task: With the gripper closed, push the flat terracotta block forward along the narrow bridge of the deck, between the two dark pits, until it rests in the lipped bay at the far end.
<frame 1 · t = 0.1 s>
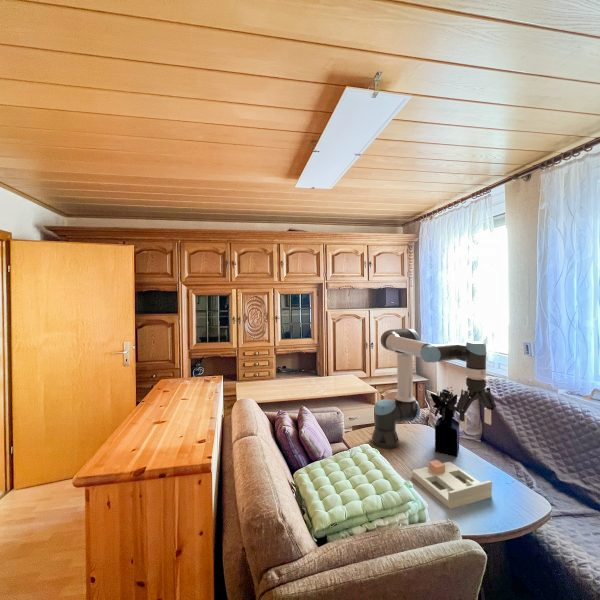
hand: (475, 425, 135), 28 cm above the table, fingers open, 13 cm apart
deck: (449, 486, 138), on the table
block: (436, 469, 145), point 3 cm above the table, touching deck
vase: (446, 450, 169), on the table
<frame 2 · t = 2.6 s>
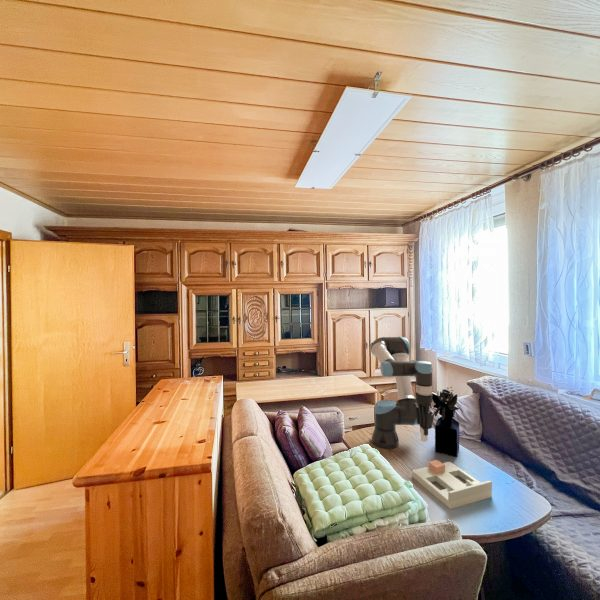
hand: (424, 440, 153), 13 cm above the table, fingers closed
nothing on the table moved.
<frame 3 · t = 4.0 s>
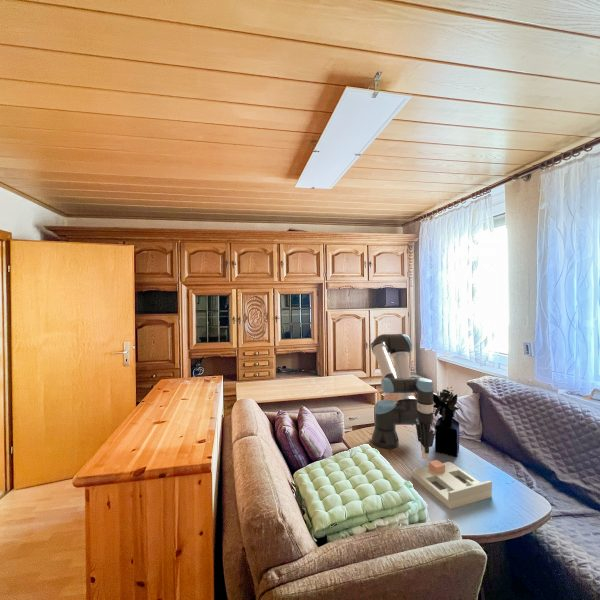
hand: (425, 458, 153), 5 cm above the table, fingers closed
nothing on the table moved.
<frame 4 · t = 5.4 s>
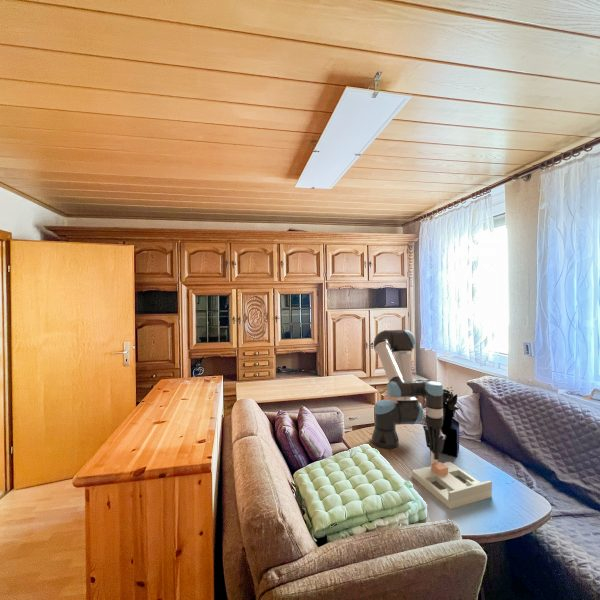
hand: (434, 464, 147), 5 cm above the table, fingers closed
block: (439, 471, 144), point 3 cm above the table, touching gripper
everything else where it was.
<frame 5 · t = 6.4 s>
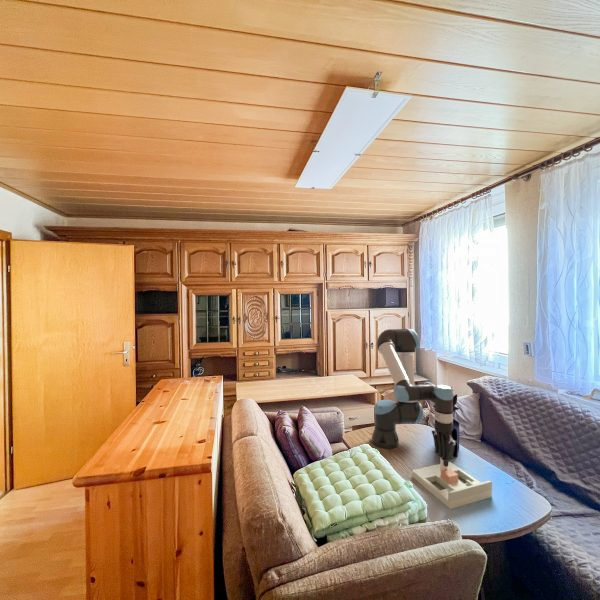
hand: (443, 471, 141), 5 cm above the table, fingers closed
block: (449, 479, 138), point 3 cm above the table, touching deck, gripper
everything else where it was.
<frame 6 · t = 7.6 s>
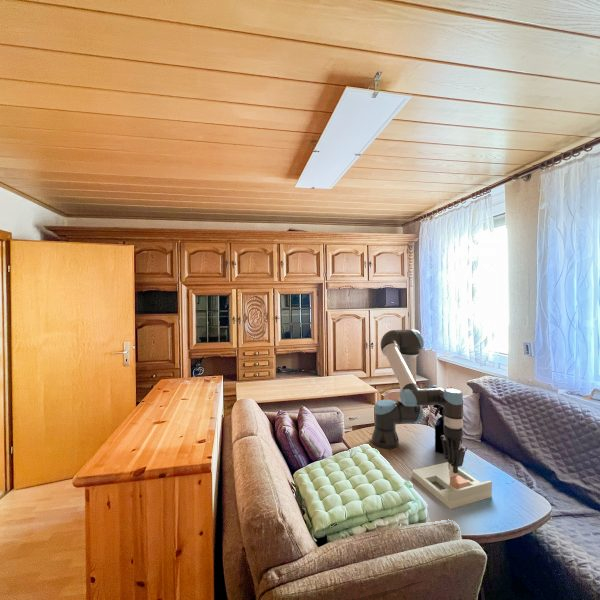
hand: (453, 478, 136), 5 cm above the table, fingers closed
block: (459, 486, 133), point 3 cm above the table, touching deck, gripper
everything else where it was.
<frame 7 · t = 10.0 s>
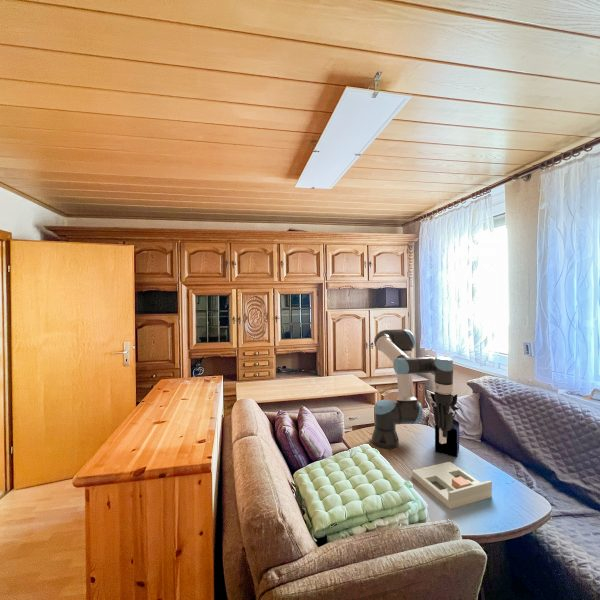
hand: (442, 442, 142), 18 cm above the table, fingers closed
block: (460, 487, 132), point 3 cm above the table, touching deck
everything else where it was.
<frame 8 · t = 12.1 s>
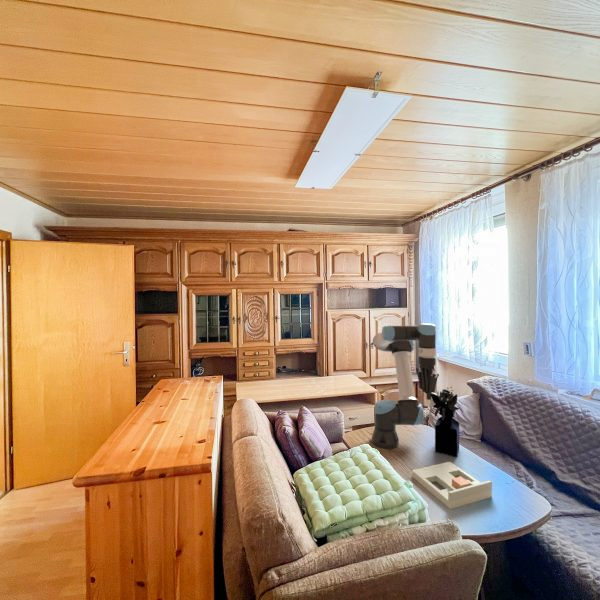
hand: (427, 405, 148), 32 cm above the table, fingers closed
nothing on the table moved.
at the end: block inside the target area on the deck (1.7 cm from its centre), point 3.0 cm above the deck's base; block tilted 0° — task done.
